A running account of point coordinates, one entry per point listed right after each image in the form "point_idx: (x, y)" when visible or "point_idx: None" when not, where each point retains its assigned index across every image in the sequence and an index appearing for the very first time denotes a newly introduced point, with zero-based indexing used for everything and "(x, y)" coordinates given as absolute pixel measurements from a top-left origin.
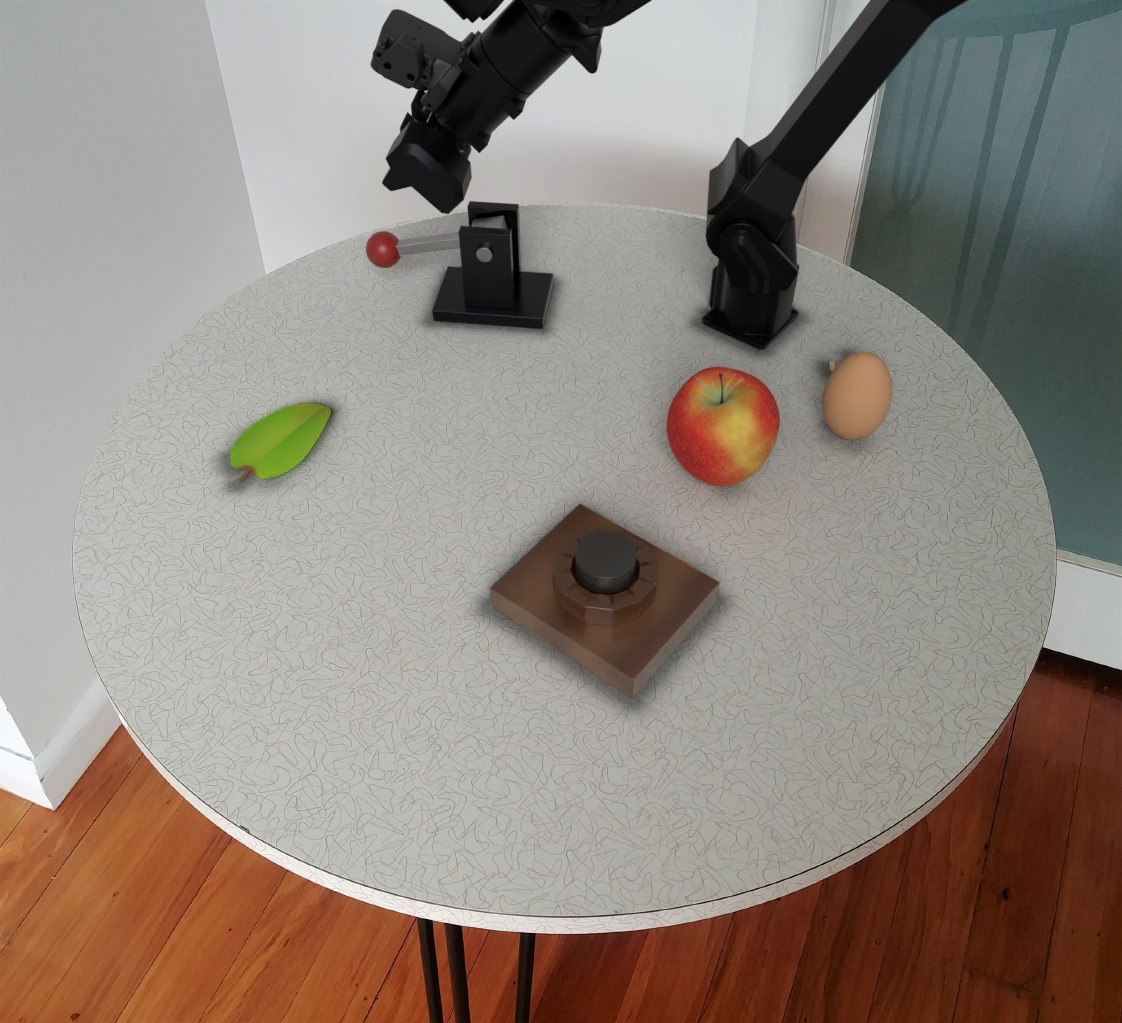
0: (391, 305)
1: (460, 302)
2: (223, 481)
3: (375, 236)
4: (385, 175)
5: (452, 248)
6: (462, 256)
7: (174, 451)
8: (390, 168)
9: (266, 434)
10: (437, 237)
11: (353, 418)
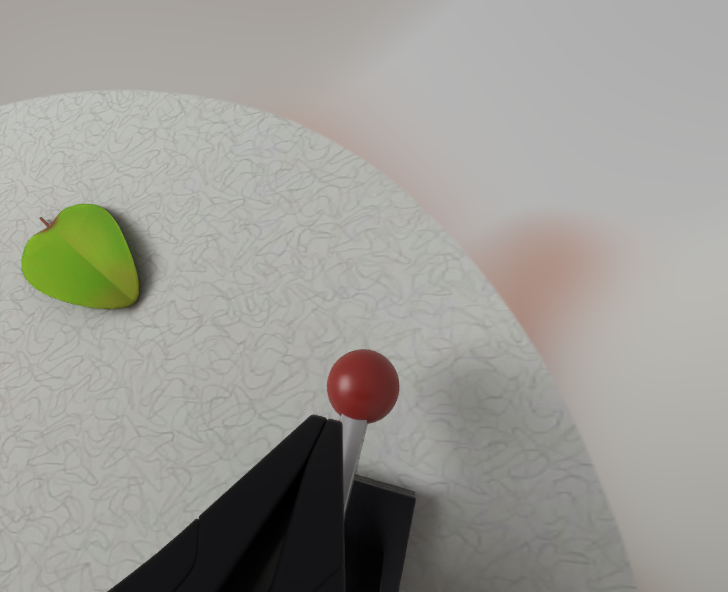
0: None
1: None
2: (56, 204)
3: (355, 371)
4: (322, 431)
5: None
6: None
7: (115, 150)
8: (266, 466)
9: (96, 237)
10: None
11: (111, 337)
